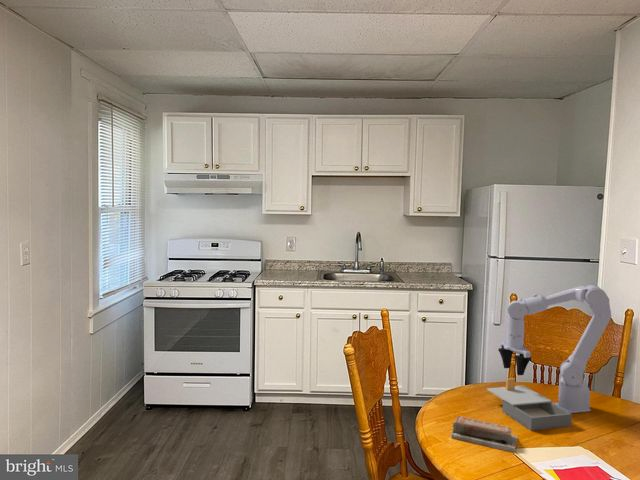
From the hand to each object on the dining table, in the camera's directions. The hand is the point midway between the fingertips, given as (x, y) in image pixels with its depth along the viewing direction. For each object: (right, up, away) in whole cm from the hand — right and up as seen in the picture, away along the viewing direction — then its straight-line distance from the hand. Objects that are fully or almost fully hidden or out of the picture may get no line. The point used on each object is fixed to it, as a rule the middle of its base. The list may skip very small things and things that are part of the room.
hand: (513, 371), depth 171 cm
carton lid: (-1, -7, -7) cm, 10 cm away
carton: (+1, -11, -16) cm, 19 cm away
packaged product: (-21, -12, -30) cm, 39 cm away
